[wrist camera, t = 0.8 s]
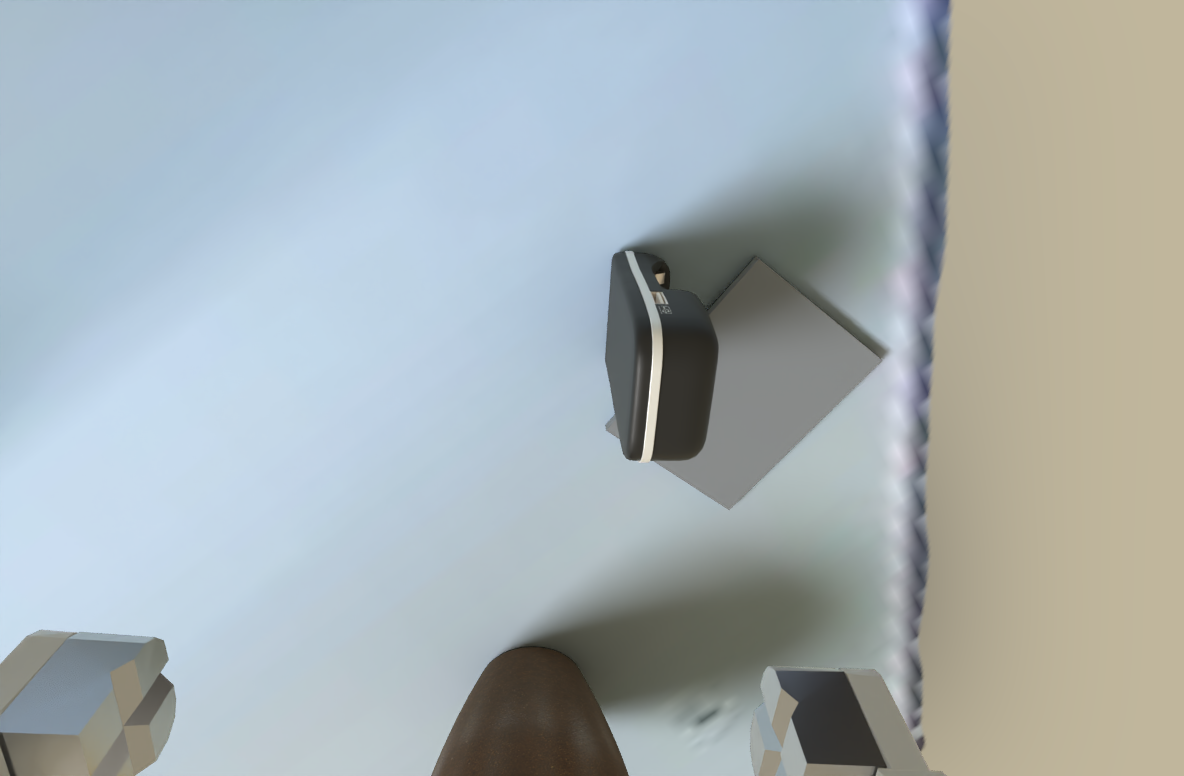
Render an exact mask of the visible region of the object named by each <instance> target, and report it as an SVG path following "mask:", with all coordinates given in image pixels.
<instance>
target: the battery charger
mask: <svg viewBox="0 0 1184 776" xmlns="http://www.w3.org/2000/svg"><path fill="white" fill-rule="evenodd" d="M669 284H670V271H669V268H668V266H667V264H666V263H665V261H663V260H662V259H661V258H659V257H656V256H654V255H649V254H646V253H633V251H625V253H623V252H619V253H615V254H614V255H613V258H612V266H611V280H610V294H609V309H608V324H607V339H606V354H605V362H606V367H607V371H608V376H609V382H610V387H611V393H612V399H613V405H614V411H615V417H616V422H617V427H618V432H619V437H620V442H621V447H622V451H623V454H624V456H625V457H626V458H627V459H629V460H633V461H638V462H640V463H649V462H650V461H682V460H689V459H691V458H694V457H696V456H697V455H698V454H699V452H700V451H701V450H702V449H703V447H704V444H705V441H706V438H707V432H708V425H709V419H710V412H711V405H712V399H713V392H714V385H715V377H716V370H717V363H718V353H719V344H718V339H717V336H716V333H715V330H714V327H713V324H712V321H711V319H710V317H709V314H708V312H707V310H706V308H705V307H704V305H703V304H702V303H701V301H700V300H699V298H698V297H697V296H696V295H695V294H693V293H691V292H689V291H683V290H669Z"/></svg>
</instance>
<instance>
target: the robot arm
mask: <svg viewBox="0 0 1184 776" xmlns="http://www.w3.org/2000/svg"><path fill="white" fill-rule="evenodd" d="M168 660H169V659H168V655H167V651H166V647H165V643H164V640H161V639H159V638H156V637H145V636H131V635H117V634H103V633H89V632H79V633H76V632H63V631H50V630H39V631H37V632H35V633H33V634H30V635H28V636H27V637H25V638H24V639H23V640H22V641H21V643H20V644H19V645H18V646H17V647H16V648H15V649H14V650H13V651H12V652H11V653H10V654H9V655H8V656H7V657H6V658H5V659H4V660H3V662H2V663H1V664H0V776H135V775H136V774H138V773H139V772H141V771H142V770H144V769H145V768H147V767H148V766H149V765H151V764H152V763H154V762H155V761H156V760H157V759H158V757H159V755H160V753H161V751H162V750H163V748H164V746H165V744H166V743H167V741H168V738H169V735H170V731H171V728H172V725H173V722H174V718H175V708H176V696H175V690H174V685H173V684H172V683H171V682H170V681H169V680H168V679H166V678H165V677H164V676H163V675H162V674H161V673H160V672H161V671H162V669H163V668H164V666H165V665H166V663H167V662H168ZM760 688H761V691H762V695H763V698H764V703H762V704H761V705H760V706H759V707H758V708H756V709H755V710H754V714H753V719H752V724H751V733H750V751H751V758H752V766H753V770H754V774H755V776H946V775H945V774H944V773H943V772H941V771H932V770H930V769H929V767H928V765H927V763H926V762H925V760H924V758H923V756H922V754H921V752H920V750H919V748H918V746H917V744H916V742H915V740H914V738H913V736H912V734H911V732H910V731H909V729H908V727H907V725H906V723H905V721H904V719H903V717H902V715H901V713H900V711H899V709H898V707H897V705H896V703H895V701H894V700H893V698H892V696H891V694H890V692H889V690H888V688H887V686H886V684H885V682H884V680H883V678H882V676H881V675H880V674H879V673H878V672H877V671H876V670H875V669H851V668H839V669H836V668H818V667H792V666H768V667H767V668H766V670H765V671H764V673H763V677H762V681H761V685H760Z"/></svg>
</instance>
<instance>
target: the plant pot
mask: <svg viewBox="0 0 1184 776" xmlns="http://www.w3.org/2000/svg"><path fill="white" fill-rule="evenodd" d="M431 776H629V775H628V772H627V769H626V767H625V764H624V761H623V759H622V756H621V753H620V751H619V748H618V746H617V744H616V741H615V739H614V737H613V734H612V732H611V730H610V728H609V726H608V723H607V721H606V719H605V717H604V715H603V713H602V711H601V709H600V707H599V705H598V703H597V701H596V699H595V697H594V695H593V693H592V691H591V689H590V688H589V686H588V684H587V682H586V680H585V679H584V677H583V675H582V673H581V672H580V670H579V668H578V667H577V666H576V664H575V663H574V662H573V661H572V660H571V659H570V658H568V657H567V656H565V655H564V654H562V653H560V652H557V651H555V650H551V649H547V648H541V647H524V648H518V649H514V650H511V651H508V652H505V653H503V654H502V655H500V656H498V657H497V658H495V659H494V660H493V661H492V662H490V663H489V664H488V666H487V667H486V668H485V670H484V671H483V673H482V674H481V676H480V678H479V679H478V681H477V683H476V684H475V686H474V688H473V690H472V691H471V693H470V695H469V696H468V698H467V700H466V702H465V704H464V706H463V708H462V710H461V712H460V713H459V715H458V717H457V719H456V721H455V723H454V726H453V728H452V730H451V732H450V734H449V736H448V738H447V740H446V743H445V745H444V747H443V749H442V751H441V754H440V756H439V758H438V761H437V763H436V766H435V768H434V770H433V773H432V775H431Z"/></svg>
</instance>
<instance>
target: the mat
mask: <svg viewBox="0 0 1184 776" xmlns="http://www.w3.org/2000/svg"><path fill="white" fill-rule="evenodd" d="M707 312H708V314H709V317H710V319H711V321H712V324H713V327H714V330H715V333H716V336H717V339H718V344H719V353H718V363H717V370H716V377H715V385H714V392H713V399H712V405H711V412H710V419H709V425H708V432H707V438H706V441H705V444H704V447H703V449H702V450H701V451H700V452H699V454H698V455H697V456H696V457H694V458H691V459H689V460H682V461H654V462H656V463H657V464H659V465H660V466H662V467H663V468H665V469H667V470H668V471H670V472H671V473H673V474H674V475H676V476H677V477H679V478H680V479H682V480H684V481H685V482H687V483H688V484H690V485H691V486H693V487H694V488H696V489H697V490H699V491H701V492H702V493H704V494H705V495H707V496H708V497H710V498H711V499H713V500H714V501H716V502H718V503H719V504H721V505H722V506H724V507H725V508H727V509H728V510H730V509H731V508H732V507H733V506H734V505H735V504H736V503H737V502H738V501H739V500H740V499H741V498H742V497H743V496H744V495H745V494H746V493H747V492H748V491H749V490H750V489H751V488H752V487H753V486H754V485H755V484H756V483H757V482H758V481H759V480H760V479H761V478H762V477H763V476H765V475H766V474H767V473H768V472H769V471H770V470H771V469H772V468H773V467H774V466H775V465H776V464H777V463H778V462H779V461H780V460H781V459H782V458H783V457H784V456H785V455H786V454H787V453H788V452H789V451H790V450H791V449H792V448H793V447H794V446H795V445H796V444H797V443H798V442H799V441H800V440H801V439H802V438H803V437H804V436H805V435H806V434H807V433H808V432H810V431H811V430H812V429H813V428H814V427H815V426H816V425H817V424H818V423H819V422H820V421H821V420H822V419H823V418H824V417H825V416H826V415H827V414H828V413H829V412H830V411H831V410H832V409H833V408H834V407H835V406H836V405H837V404H838V403H839V402H840V401H841V400H842V399H843V398H844V397H845V396H846V395H847V394H848V393H849V392H850V391H851V390H852V389H854V388H855V387H856V386H857V385H858V384H859V383H860V382H861V381H862V380H863V379H864V378H865V377H866V376H867V375H868V374H869V373H870V372H871V371H872V370H873V369H874V368H875V367H876V366H877V365H878V364H879V363H880V362H881V361H882V360H881V359H880V358H879V357H878V356H877V355H876V354H875V353H874V352H872V351H871V350H870V349H869V348H868V347H866V346H865V345H864V344H863V343H861V342H860V341H859V340H858V339H857V338H855V337H854V336H853V335H852V334H850V333H849V332H848V331H847V330H846V329H844V328H843V327H842V326H841V325H840V324H838V323H837V322H836V321H835V320H833V319H832V318H831V317H830V316H829V315H827V314H826V313H825V312H824V311H822V310H821V309H820V308H819V307H818V306H816V305H815V304H814V303H813V302H811V301H810V300H809V299H808V298H807V297H805V296H804V295H803V294H802V293H801V292H799V291H798V290H797V289H796V288H794V287H793V286H792V285H791V284H790V283H788V282H787V281H786V280H785V279H783V278H782V277H781V276H780V275H779V274H777V273H776V272H775V271H774V270H772V269H771V268H770V267H769V266H768V265H766V264H765V263H764V262H763V261H762V260H760V259H759V258H758V257H757V256H755V258H754V259H753V260H752V261H751V262H750V263H749V264H748V265H747V267H746V268H745V269H744V270H743V271H742V272H741V273H740V274H739V276H738V277H737V278H736V279H735V280H734V281H733V282H732V283H731V285H730V286H729V287H728V288H727V289H726V290H725V291H724V292H723V294H722V295H721V296H720V297H719V298H718V299H717V300H716V301H715V303H714V304H713V305H712V306H711V307H710V308H709V309H708V310H707ZM605 426H606V431H608V432H609V433H611V434H612V435H614V436H616V437H617V438H619V439H620V437H619V432H618V427H617V422H616V417H615V415H614V416H613V417H612V418H611V420H610V421H609V422H608V423H607V424H606V425H605Z"/></svg>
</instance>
